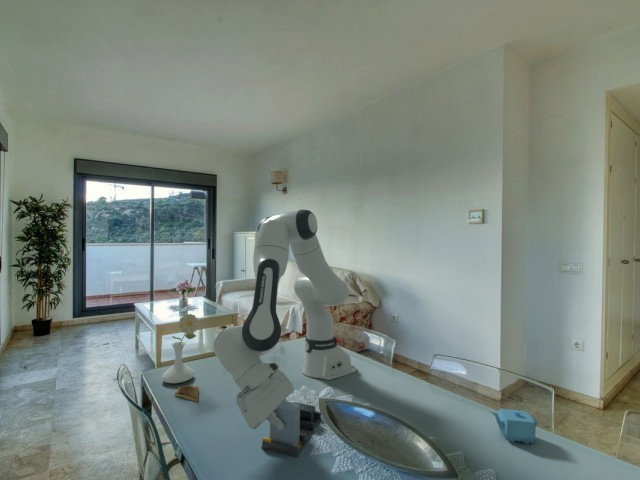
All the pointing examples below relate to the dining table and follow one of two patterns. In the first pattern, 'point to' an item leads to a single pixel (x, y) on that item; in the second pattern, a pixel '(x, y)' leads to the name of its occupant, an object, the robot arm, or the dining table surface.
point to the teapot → (516, 425)
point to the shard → (188, 392)
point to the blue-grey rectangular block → (287, 424)
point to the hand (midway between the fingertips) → (287, 422)
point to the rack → (307, 427)
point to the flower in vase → (180, 370)
